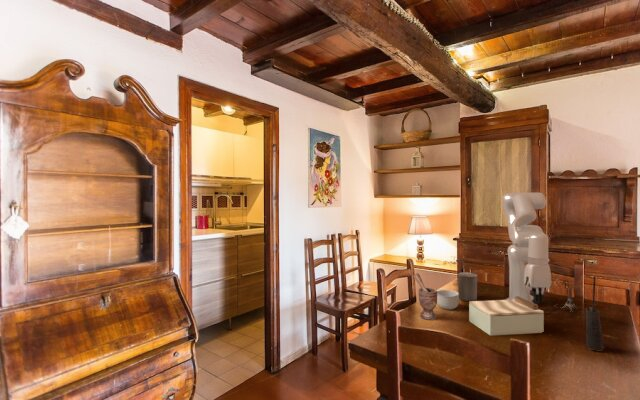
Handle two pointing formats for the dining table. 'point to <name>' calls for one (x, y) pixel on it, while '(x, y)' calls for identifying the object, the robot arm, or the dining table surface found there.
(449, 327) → the dining table surface
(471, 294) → the pillar candle
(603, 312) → the dining table surface
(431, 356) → the dining table surface
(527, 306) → the lid
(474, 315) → the box
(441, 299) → the teacup
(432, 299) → the mortar and pestle
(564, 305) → the eiffel tower figurine
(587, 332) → the butter churn
